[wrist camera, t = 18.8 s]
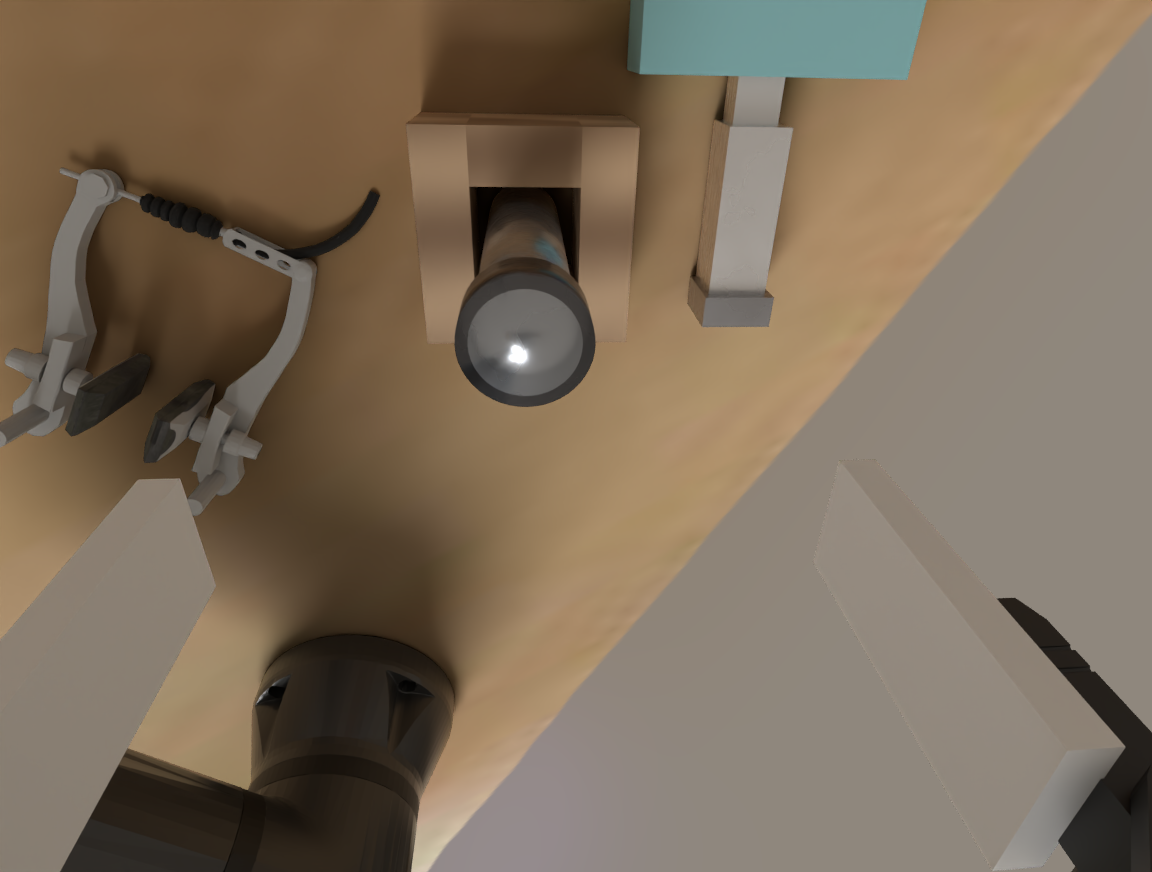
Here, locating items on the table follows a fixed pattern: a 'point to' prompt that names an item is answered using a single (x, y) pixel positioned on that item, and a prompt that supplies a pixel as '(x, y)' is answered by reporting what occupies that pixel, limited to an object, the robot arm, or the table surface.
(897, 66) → the socket block
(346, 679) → the robot arm
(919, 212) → the table surface
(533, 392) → the metal flashlight
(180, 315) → the table surface
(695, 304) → the pale gray faceted bar
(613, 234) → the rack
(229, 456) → the bike brake
